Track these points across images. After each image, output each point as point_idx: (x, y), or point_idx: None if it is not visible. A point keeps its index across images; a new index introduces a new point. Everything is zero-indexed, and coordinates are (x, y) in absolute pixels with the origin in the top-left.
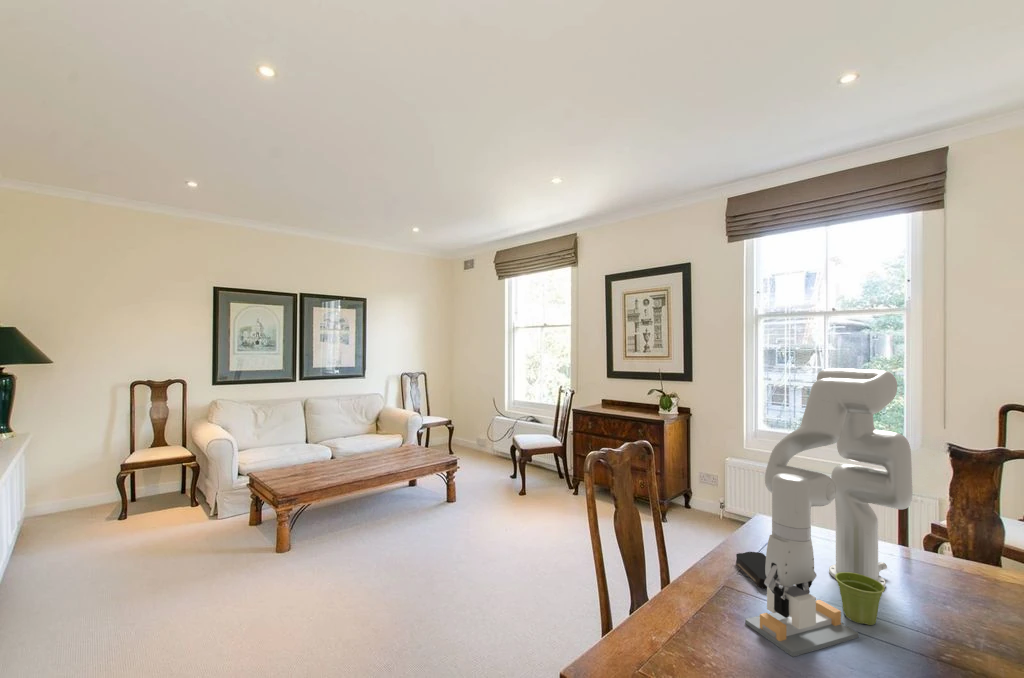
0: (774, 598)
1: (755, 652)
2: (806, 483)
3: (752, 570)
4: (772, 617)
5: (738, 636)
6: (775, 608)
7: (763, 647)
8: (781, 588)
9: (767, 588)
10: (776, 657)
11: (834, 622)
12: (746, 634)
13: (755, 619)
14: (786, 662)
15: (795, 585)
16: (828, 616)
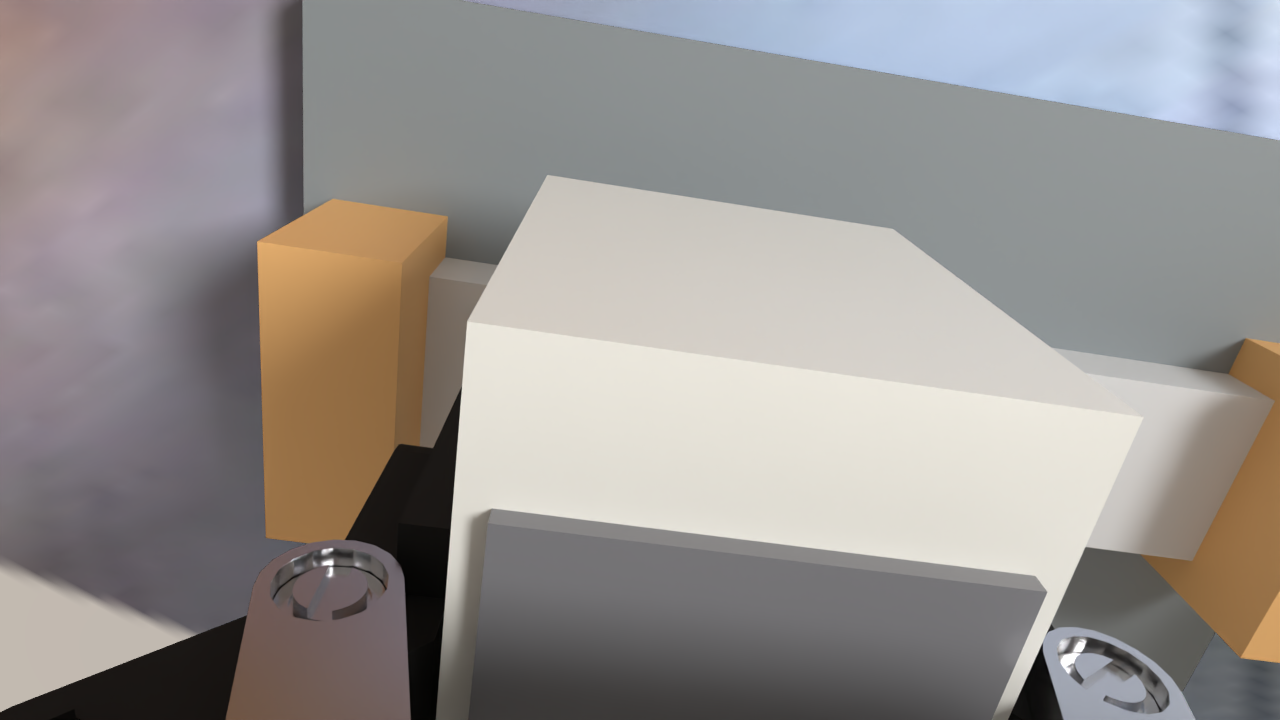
0: (430, 459)
1: (16, 374)
2: None
3: None
4: (375, 377)
5: (25, 116)
6: (400, 446)
7: (165, 365)
8: (511, 699)
9: (498, 280)
10: (169, 499)
11: (1164, 572)
12: (156, 137)
13: (439, 52)
14: (203, 568)
15: (1045, 717)
16: (1212, 533)
